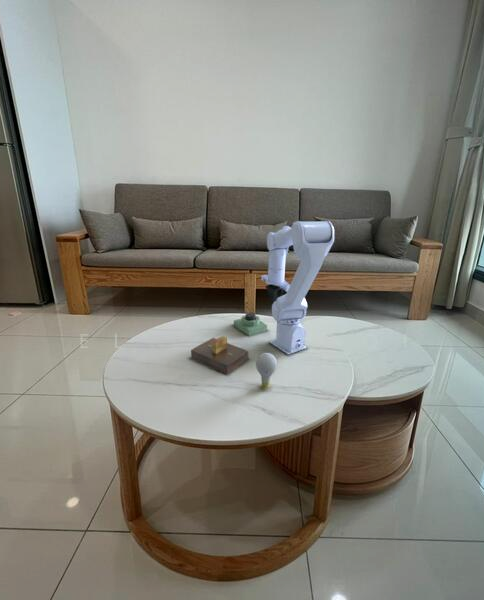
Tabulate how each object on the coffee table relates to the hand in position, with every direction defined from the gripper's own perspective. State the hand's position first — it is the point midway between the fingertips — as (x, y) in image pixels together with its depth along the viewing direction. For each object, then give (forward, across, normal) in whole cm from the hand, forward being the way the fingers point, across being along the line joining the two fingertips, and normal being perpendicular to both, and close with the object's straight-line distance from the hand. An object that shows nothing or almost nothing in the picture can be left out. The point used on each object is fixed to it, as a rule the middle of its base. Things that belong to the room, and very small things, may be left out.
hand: (274, 304), depth 115 cm
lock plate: (+9, +8, -27) cm, 30 cm away
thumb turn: (+6, +8, -27) cm, 29 cm away
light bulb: (+9, +27, -24) cm, 38 cm away
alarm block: (+9, -5, -7) cm, 13 cm away
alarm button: (+6, -5, -7) cm, 10 cm away
